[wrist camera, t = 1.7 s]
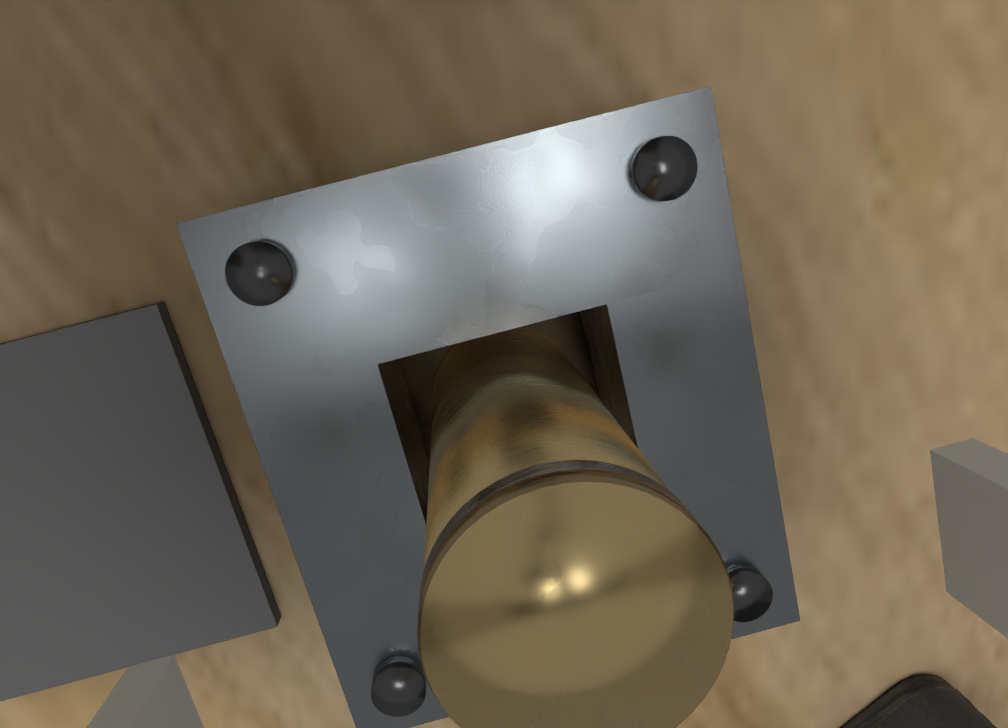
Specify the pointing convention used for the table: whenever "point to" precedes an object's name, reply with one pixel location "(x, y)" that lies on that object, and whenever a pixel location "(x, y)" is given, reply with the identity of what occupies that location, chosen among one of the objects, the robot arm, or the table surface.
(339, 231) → the housing
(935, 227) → the table surface
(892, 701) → the camera
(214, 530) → the mat
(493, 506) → the plug
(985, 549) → the robot arm
